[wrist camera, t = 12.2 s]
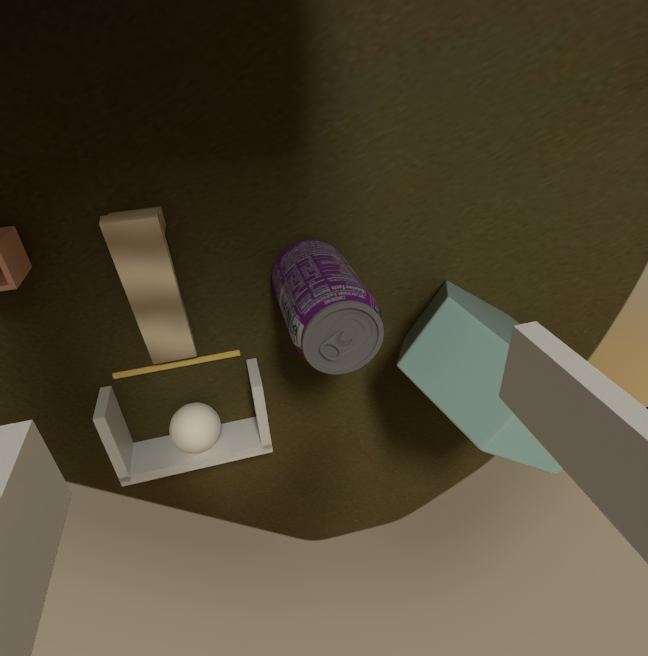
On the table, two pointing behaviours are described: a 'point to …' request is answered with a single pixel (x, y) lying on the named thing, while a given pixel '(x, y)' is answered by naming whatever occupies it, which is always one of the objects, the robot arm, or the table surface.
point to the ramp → (150, 281)
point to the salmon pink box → (12, 259)
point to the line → (175, 364)
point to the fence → (163, 454)
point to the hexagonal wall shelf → (470, 373)
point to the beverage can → (326, 307)
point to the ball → (195, 427)
